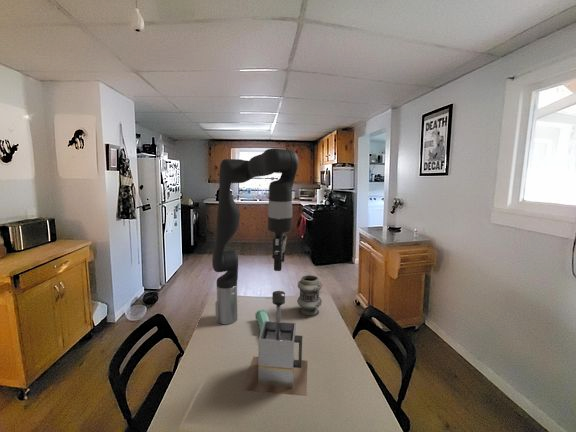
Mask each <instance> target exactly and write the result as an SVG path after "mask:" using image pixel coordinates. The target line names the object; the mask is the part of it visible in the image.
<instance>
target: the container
mask: <svg viewBox="0 0 576 432" xmlns="http://www.w3.org/2000/svg"><path fill="white" fill-rule="evenodd" d="M255 319H256V320H257V324H258V328H259V331H260V332H261V330H262V327H263V324H264V321H270V319H269V317H268V311H266V310H265V309H259V310H258V311H256V312H255Z"/></svg>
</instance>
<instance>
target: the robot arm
mask: <svg viewBox="0 0 576 432" xmlns="http://www.w3.org/2000/svg"><path fill="white" fill-rule="evenodd" d="M298 168H299V157H298V155H297V153H296V151H295V150H293V149H285V148H275V147H274V148H268V149H266V150H264V151H263V152H262V153H261V154H258V155H255V156H253V157H251V158H250V159H249V160H245V159H239V158H236V159H231V158H225V159H223V160H221V161H220V165H219V178H218V179H219V183H218V184H219V185H218V186H219V188H218V191H219V194H218V207H217V213H216V214H217V218H216V229H215V241H214V247H213V252H212V259H211V260H212V261H211V262H212V268H213V271H215V272H216V273H222V272H223V273H224V272H225V273H224V274H222V275H220V276H219V277H218V278H217V279H216V302H215V303H214V304H215V305H214V306H215V322H216V323H219V324H220V325H231V324H234V323H235V322H237V321H238V314H239V313H238V278H239V277H238V276H239V275H238V273H239V256H238V253H237V251H236V250H235V249H228V250H225V249H226V246H227V245H228V243H229V242H230V241H231V239H233V237H234V235H235V234H236V233H237V231H238V229H239V226H240V218H241V217H240V216H241V213H240V209H239V206H238V205H237V204H236V202H235V200H234V198H233V195H232V193H231V185H232V184H243V183H247V182H249V181H250V180H251V179H253V178H257V177H258V178H259V177H264V176H265V177H266V176H271V175H272V174H277V173H278V174H281V175H280V177H279V179H277V180H273V181H271V182H270V183H269V186H268V206H267V230H268V231H269V232H271V233H274V235H273V237H272V255H271V256H272V257H271V258H272V259H273V271H275V272H281V271H282V263H284V262H285V251H286V247H287V238H288V236H287V235H286V234H287V233H289V232H291V231H292V230H293V187H294V183H295V179H296V176H297V175H296V174H297V172H298Z"/></svg>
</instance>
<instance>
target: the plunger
mask: <svg viewBox="0 0 576 432" xmlns="http://www.w3.org/2000/svg"><path fill="white" fill-rule="evenodd" d="M271 300H272V302H271V303H272V304H273V305H276V312H275V313H276V314H275V315H276V316H275V319H276V320H275V321H276V332H267V335H266V339H273V340H287V341H291V336H292V333H282V332H280V322H282V321H281V319H282V317H281V316H282V314H281V311H282V308H281V307H282V306H283V305H284V304H285V303H286V302H285V301H286V292H285V291H282V290H274V291H273V292H272V299H271Z"/></svg>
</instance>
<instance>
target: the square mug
mask: <svg viewBox="0 0 576 432" xmlns="http://www.w3.org/2000/svg"><path fill="white" fill-rule="evenodd" d="M296 330H297V323H296V322H289V321H280V332H282V333H292V336H291V341H287V340H273V339H266V335H267V332H276V320H275V321H274V320H273V321H272V320H269V321H264V324H263V327H262V330H261V331H260V334H259V337H258V348H257V351H258V353H257V355H258V356H257V357H258V385H262V386H273V387H285V388H293V378H294V368H301V366H302V360H303V335H297V334H296V333H297V332H296ZM296 343H298V359H296Z"/></svg>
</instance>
